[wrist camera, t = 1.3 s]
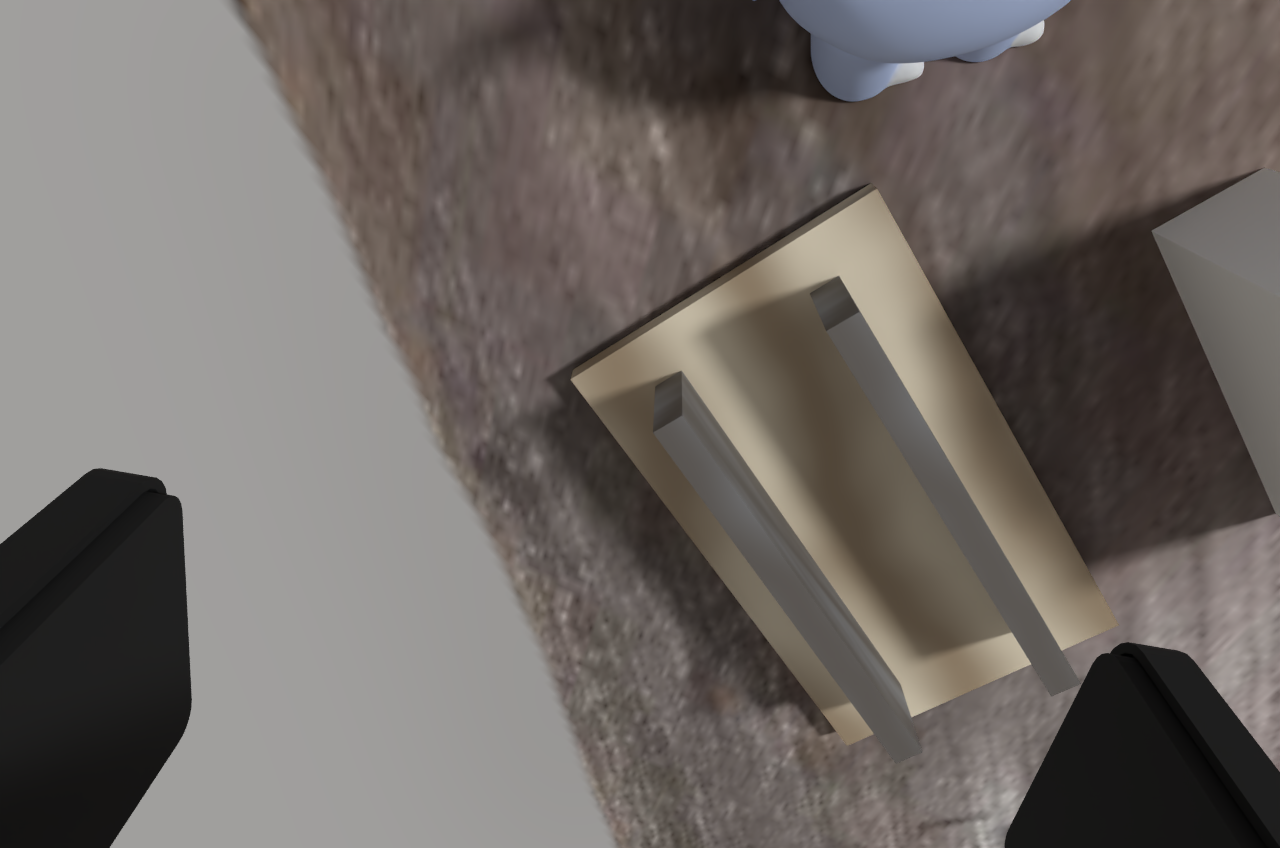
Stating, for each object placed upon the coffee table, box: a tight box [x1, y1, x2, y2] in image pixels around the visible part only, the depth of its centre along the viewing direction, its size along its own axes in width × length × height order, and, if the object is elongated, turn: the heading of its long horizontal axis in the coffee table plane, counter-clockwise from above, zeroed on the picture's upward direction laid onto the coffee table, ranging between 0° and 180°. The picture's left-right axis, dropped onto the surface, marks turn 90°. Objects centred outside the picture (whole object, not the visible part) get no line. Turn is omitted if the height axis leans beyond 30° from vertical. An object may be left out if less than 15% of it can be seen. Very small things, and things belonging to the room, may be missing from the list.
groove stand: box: [570, 183, 1119, 763], centre depth 35 cm, size 13×22×5 cm, turn 34°
